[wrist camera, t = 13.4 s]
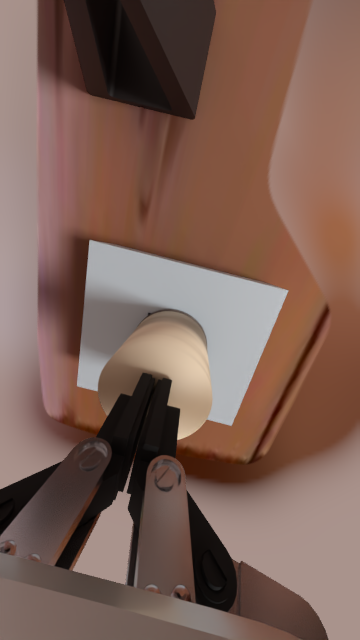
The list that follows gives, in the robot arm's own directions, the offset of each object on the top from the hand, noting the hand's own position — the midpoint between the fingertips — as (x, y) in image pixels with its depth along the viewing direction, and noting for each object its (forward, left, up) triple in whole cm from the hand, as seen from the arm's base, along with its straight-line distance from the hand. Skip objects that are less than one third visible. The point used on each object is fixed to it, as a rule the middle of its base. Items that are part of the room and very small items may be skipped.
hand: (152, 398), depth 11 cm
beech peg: (0, 0, -11) cm, 11 cm away
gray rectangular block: (0, 0, -12) cm, 12 cm away
